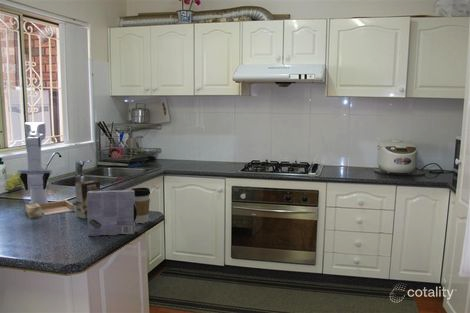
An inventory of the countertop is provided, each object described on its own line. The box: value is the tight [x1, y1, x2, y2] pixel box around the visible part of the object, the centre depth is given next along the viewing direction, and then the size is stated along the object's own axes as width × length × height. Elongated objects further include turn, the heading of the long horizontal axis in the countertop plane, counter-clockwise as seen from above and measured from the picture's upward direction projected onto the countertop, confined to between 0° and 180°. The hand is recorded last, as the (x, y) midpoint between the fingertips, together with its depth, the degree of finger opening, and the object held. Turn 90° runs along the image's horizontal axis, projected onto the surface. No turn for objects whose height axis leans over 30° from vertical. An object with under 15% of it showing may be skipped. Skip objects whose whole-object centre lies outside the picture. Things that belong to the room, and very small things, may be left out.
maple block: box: [24, 203, 43, 219], centre depth 192 cm, size 5×9×4 cm, turn 38°
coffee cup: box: [131, 187, 151, 224], centre depth 180 cm, size 8×8×15 cm
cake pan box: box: [86, 189, 137, 237], centre depth 164 cm, size 19×5×18 cm, turn 99°
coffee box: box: [74, 179, 101, 219], centre depth 190 cm, size 9×6×16 cm
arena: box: [39, 199, 75, 216], centre depth 200 cm, size 12×13×3 cm
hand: (35, 189), depth 191 cm, fingers open, 7 cm apart
